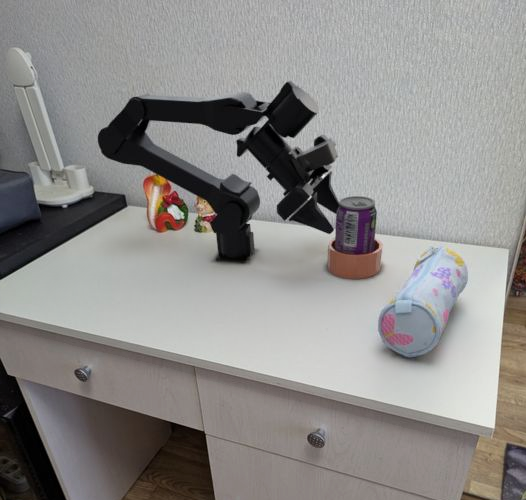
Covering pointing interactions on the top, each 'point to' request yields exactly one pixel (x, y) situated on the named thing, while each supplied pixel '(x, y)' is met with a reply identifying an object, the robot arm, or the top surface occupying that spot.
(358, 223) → the beverage can
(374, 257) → the can holder
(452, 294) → the pencil case
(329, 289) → the top surface
